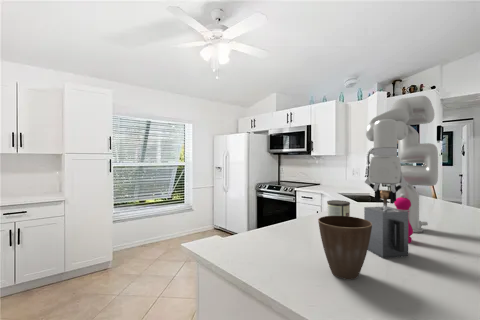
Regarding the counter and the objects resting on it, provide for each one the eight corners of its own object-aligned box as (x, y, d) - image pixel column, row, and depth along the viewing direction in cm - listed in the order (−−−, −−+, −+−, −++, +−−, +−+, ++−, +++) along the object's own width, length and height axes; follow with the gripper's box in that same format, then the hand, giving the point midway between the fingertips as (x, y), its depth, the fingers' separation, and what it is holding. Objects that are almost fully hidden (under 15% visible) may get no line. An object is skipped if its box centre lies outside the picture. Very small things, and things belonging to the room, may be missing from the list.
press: (387, 246, 97) (387, 206, 98) (415, 259, 85) (414, 213, 85) (364, 248, 96) (364, 207, 96) (388, 261, 83) (388, 214, 83)
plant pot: (345, 291, 65) (345, 230, 65) (308, 268, 78) (308, 217, 78) (384, 280, 71) (384, 224, 71) (343, 260, 84) (343, 213, 84)
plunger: (386, 233, 96) (386, 189, 96) (401, 239, 89) (401, 191, 89) (370, 234, 95) (370, 189, 95) (383, 240, 88) (383, 191, 88)
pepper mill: (416, 244, 101) (416, 195, 101) (396, 242, 102) (396, 194, 102) (408, 238, 108) (408, 192, 108) (390, 237, 109) (389, 192, 109)
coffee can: (329, 226, 127) (329, 199, 127) (351, 229, 122) (351, 201, 122) (324, 231, 119) (324, 202, 119) (348, 235, 113) (348, 204, 113)
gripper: (358, 153, 95) (358, 201, 95) (410, 152, 83) (410, 206, 83) (364, 153, 100) (364, 198, 100) (414, 152, 89) (414, 203, 89)
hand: (385, 201), depth 92 cm, fingers closed on plunger, 4 cm apart
